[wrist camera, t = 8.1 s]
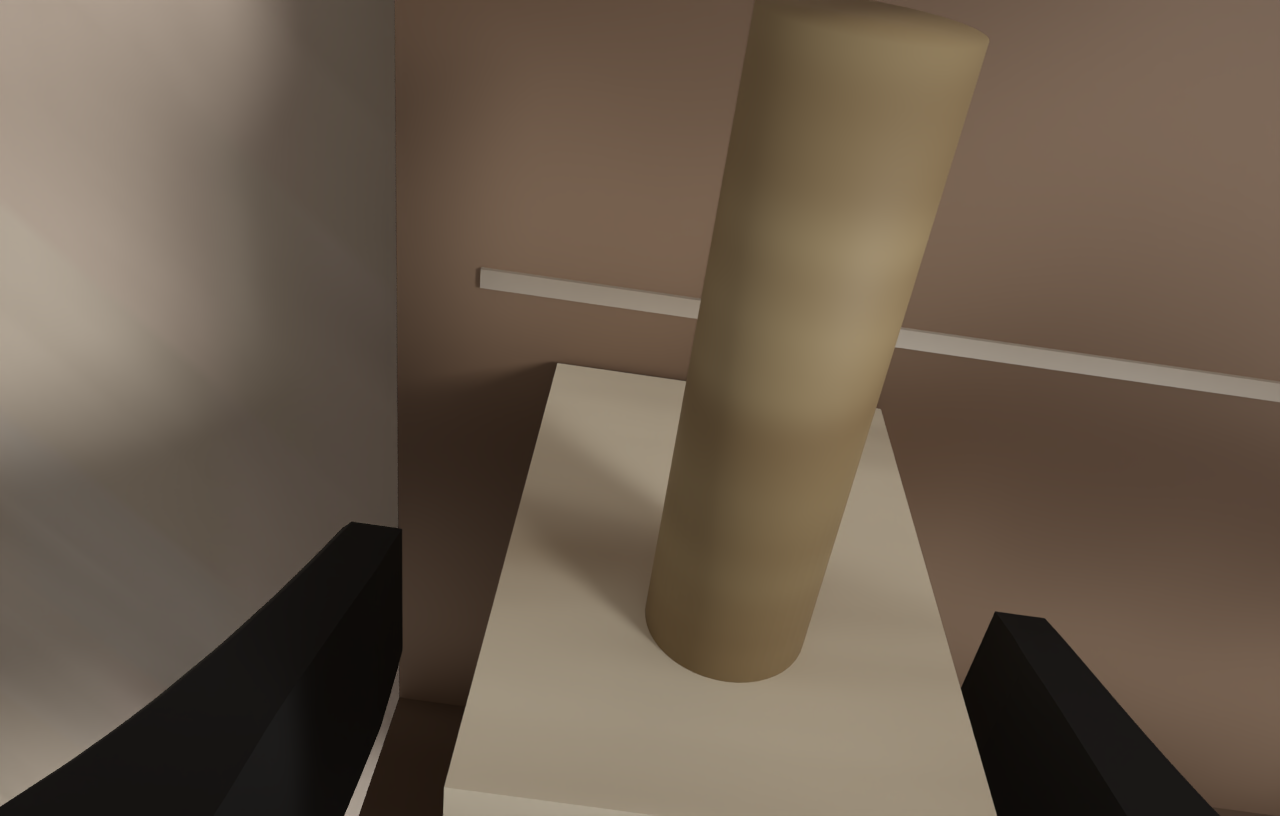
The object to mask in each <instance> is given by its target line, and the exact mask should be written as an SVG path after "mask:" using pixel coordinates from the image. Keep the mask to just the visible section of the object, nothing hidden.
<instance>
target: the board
mask: <svg viewBox="0 0 1280 816" xmlns="http://www.w3.org/2000/svg"><path fill="white" fill-rule="evenodd" d="M872 1H877V2H883V3H888V4H893V5H898V6H902V7H907V8H911V9H915V10H920V11H924V12H927V13H931V14H935V15H938V16H942V17H945V18H948V19H951V20H954V21H957V22H960V23H963V24H965V25H968V26H970V27H972V28H975V29H977V30H979V31H980V32H982V33H984V34H985V35H986V36H987V37H988V38H989V44H988V48H987V51H986V54H985V57H984V61H983V64H982V67H981V70H980V73H979V77H978V80H977V83H976V86H975V90H974V93H973V96H972V99H971V103H970V106H969V109H968V112H967V116H966V119H965V122H964V125H963V129H962V132H961V135H960V138H959V141H958V145H957V148H956V151H955V154H954V158H953V161H952V164H951V167H950V171H949V174H948V177H947V180H946V184H945V187H944V190H943V193H942V196H941V200H940V203H939V206H938V209H937V213H936V216H935V219H934V222H933V226H932V229H931V232H930V235H929V239H928V242H927V245H926V248H925V252H924V255H923V258H922V261H921V264H920V268H919V271H918V274H917V277H916V281H915V284H914V287H913V290H912V294H911V297H910V300H909V303H908V307H907V310H906V313H905V316H904V320H903V323H902V326H901V329H900V332H899V336H898V339H897V342H896V345H895V349H894V352H893V355H892V358H891V362H890V365H889V368H888V371H887V375H886V378H885V381H884V384H883V387H882V391H881V394H880V397H879V400H878V404H877V407H876V408H878V409H881V412H882V415H883V419H884V422H885V426H886V429H887V433H888V436H889V440H890V443H891V447H892V450H893V454H894V457H895V461H896V464H897V468H898V471H899V475H900V478H901V482H902V485H903V489H904V492H905V496H906V499H907V503H908V506H909V510H910V513H911V517H912V520H913V524H914V527H915V531H916V534H917V538H918V541H919V545H920V548H921V552H922V555H923V559H924V562H925V566H926V569H927V573H928V576H929V580H930V583H931V587H932V590H933V594H934V597H935V601H936V604H937V608H938V611H939V615H940V618H941V622H942V625H943V629H944V632H945V636H946V639H947V643H948V646H949V650H950V653H951V657H952V660H953V664H954V667H955V671H956V674H957V678H958V681H959V685H960V688H961V687H962V684H963V682H964V680H965V678H966V675H967V673H968V671H969V669H970V666H971V664H972V662H973V660H974V657H975V655H976V653H977V651H978V648H979V646H980V644H981V642H982V639H983V637H984V635H985V633H986V630H987V628H988V626H989V624H990V622H991V619H992V617H993V615H994V613H995V611H997V612H1004V613H1011V614H1018V615H1026V616H1033V617H1040V618H1045V619H1046V620H1047V621H1048V622H1049V623H1050V624H1051V625H1052V627H1053V628H1054V629H1055V630H1056V631H1057V632H1058V633H1059V634H1060V635H1061V637H1062V638H1063V639H1064V640H1065V641H1066V642H1067V643H1068V645H1069V646H1070V647H1071V648H1072V649H1073V650H1074V652H1075V653H1076V654H1077V655H1078V656H1079V657H1080V659H1081V660H1082V661H1083V662H1084V663H1085V664H1086V666H1087V667H1088V668H1089V669H1090V670H1091V671H1092V673H1093V674H1094V675H1095V676H1096V677H1097V679H1098V680H1099V681H1100V682H1101V683H1102V684H1103V686H1104V687H1105V688H1106V689H1107V690H1108V691H1109V693H1110V694H1111V695H1112V696H1113V697H1114V698H1115V700H1116V701H1117V702H1118V703H1119V704H1120V705H1121V707H1122V708H1123V709H1124V710H1125V711H1126V712H1127V714H1128V715H1129V716H1130V717H1131V718H1132V719H1133V720H1134V722H1135V723H1136V724H1137V725H1138V726H1139V727H1140V729H1141V730H1142V731H1143V732H1144V733H1145V734H1146V735H1147V737H1148V738H1149V739H1150V740H1151V741H1152V742H1153V743H1154V744H1155V746H1156V747H1157V748H1158V749H1159V750H1160V751H1161V752H1162V753H1163V755H1164V756H1165V757H1166V758H1167V759H1168V760H1169V761H1170V762H1171V764H1172V765H1173V766H1174V767H1175V768H1176V769H1177V770H1178V771H1179V772H1180V773H1181V775H1182V776H1183V777H1184V778H1185V779H1186V780H1187V781H1188V782H1189V783H1190V784H1191V785H1192V786H1193V788H1194V789H1195V790H1196V791H1197V792H1198V793H1199V794H1200V795H1201V796H1202V797H1203V798H1204V799H1205V800H1206V802H1207V803H1208V804H1209V805H1210V806H1211V807H1212V808H1213V809H1214V810H1215V811H1216V812H1217V813H1218V814H1219V815H1220V816H1280V0H872ZM754 3H755V0H395V117H396V262H397V407H398V528H399V529H402V611H403V651H402V654H401V658H400V661H399V696H400V698H399V700H398V703H397V706H396V709H395V712H394V715H393V718H392V721H391V724H390V727H389V730H388V732H387V735H386V738H385V741H384V744H383V747H382V750H381V753H380V756H379V759H378V762H377V764H376V767H375V770H374V773H373V776H372V779H371V782H370V785H369V788H368V791H367V794H366V796H365V799H364V802H363V805H362V808H361V811H360V814H359V816H443V804H444V786H445V782H446V778H447V774H448V771H449V767H450V763H451V759H452V756H453V752H454V748H455V744H456V741H457V737H458V733H459V729H460V726H461V722H462V718H463V714H464V711H465V707H466V703H467V700H468V696H469V692H470V688H471V685H472V681H473V677H474V673H475V670H476V666H477V662H478V658H479V655H480V651H481V647H482V643H483V640H484V636H485V632H486V628H487V625H488V621H489V617H490V614H491V610H492V606H493V602H494V599H495V595H496V591H497V587H498V584H499V580H500V576H501V572H502V569H503V565H504V561H505V557H506V554H507V550H508V546H509V542H510V539H511V535H512V531H513V528H514V524H515V520H516V516H517V513H518V509H519V505H520V501H521V498H522V494H523V490H524V486H525V483H526V479H527V475H528V471H529V468H530V464H531V460H532V456H533V453H534V449H535V445H536V441H537V438H538V434H539V430H540V427H541V423H542V419H543V415H544V412H545V408H546V404H547V400H548V397H549V393H550V389H551V385H552V382H553V378H554V374H555V370H556V367H557V363H561V364H568V365H575V366H582V367H589V368H596V369H603V370H610V371H617V372H624V373H631V374H638V375H645V376H652V377H659V378H666V379H673V380H681V381H686V380H687V374H688V368H689V363H690V357H691V352H692V346H693V341H694V335H695V330H696V324H697V319H698V313H699V308H700V302H701V296H702V291H703V285H704V280H705V274H706V269H707V263H708V258H709V252H710V247H711V241H712V235H713V230H714V224H715V219H716V213H717V208H718V202H719V197H720V191H721V186H722V180H723V174H724V169H725V163H726V158H727V152H728V147H729V141H730V136H731V130H732V125H733V119H734V113H735V108H736V102H737V97H738V91H739V86H740V80H741V75H742V69H743V64H744V58H745V53H746V47H747V41H748V36H749V30H750V25H751V19H752V14H753V8H754Z"/></svg>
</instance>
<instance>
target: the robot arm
mask: <svg viewBox="0 0 1280 816" xmlns="http://www.w3.org/2000/svg"><path fill="white" fill-rule="evenodd" d="M402 651H403V611H402V529H399V528H392V527H385V526H378V525H371V524H363V523H356V522H351V523H349V524H348V525H346V526H345V527H343V528H342V529H341V530H340V531H339V532H338V533H337V534H336V535H335V536H334V537H333V538H332V539H331V540H330V541H329V542H328V543H327V544H326V545H325V546H324V548H323V549H322V550H321V551H320V552H319V553H318V554H317V555H316V556H315V557H314V558H313V559H312V560H311V561H310V562H309V563H308V564H307V565H306V566H305V567H304V568H303V569H302V570H301V571H300V572H299V573H297V574H296V575H295V576H294V577H293V578H292V579H291V580H290V581H289V582H288V583H287V584H286V585H285V586H284V587H283V588H282V589H281V590H280V591H279V592H278V593H277V594H276V595H275V596H274V597H273V598H272V599H270V600H269V601H268V602H267V603H266V604H265V605H264V606H263V607H262V608H261V609H259V610H258V611H257V612H256V613H255V614H254V615H253V616H252V617H251V618H250V619H248V620H247V621H246V622H245V623H244V624H243V625H242V626H241V627H240V628H239V629H237V630H236V631H235V632H234V633H233V634H232V635H231V636H230V637H229V638H228V639H226V640H225V641H224V642H223V643H222V644H221V645H220V646H218V647H217V648H216V649H215V650H214V651H213V652H211V653H210V654H209V655H208V656H207V657H205V658H204V659H203V660H202V661H201V662H199V663H198V664H197V665H196V666H194V667H193V668H192V669H191V670H190V671H188V672H187V673H186V674H185V675H184V676H182V677H181V678H180V679H179V680H177V681H176V682H175V683H174V684H173V685H171V686H170V687H169V688H168V689H167V690H165V691H164V692H163V693H162V694H160V695H159V696H158V697H157V698H155V699H154V700H153V701H152V702H150V703H149V704H148V705H146V706H145V707H144V708H142V709H141V710H140V711H139V712H137V713H136V714H135V715H133V716H132V717H131V718H129V719H128V720H127V721H125V722H124V723H123V724H121V725H120V726H119V727H117V728H116V729H114V730H113V731H112V732H110V733H109V734H108V735H106V736H105V737H103V738H102V739H101V740H99V741H98V742H96V743H95V744H94V745H92V746H91V747H89V748H88V749H86V750H85V751H84V752H82V753H81V754H79V755H78V756H77V757H75V758H74V759H72V760H71V761H69V762H68V763H66V764H65V765H63V766H62V767H60V768H59V769H57V770H56V771H54V772H53V773H51V774H50V775H48V776H47V777H45V778H44V779H42V780H40V781H39V782H37V783H36V784H34V785H33V786H31V787H30V788H28V789H27V790H25V791H24V792H22V793H21V794H19V795H17V796H16V797H14V798H13V799H11V800H10V801H8V802H7V803H5V804H4V805H2V806H1V807H0V816H344V815H345V812H346V810H347V808H348V805H349V803H350V800H351V798H352V796H353V793H354V791H355V788H356V786H357V784H358V781H359V779H360V776H361V774H362V772H363V769H364V767H365V764H366V762H367V759H368V757H369V755H370V752H371V750H372V747H373V745H374V742H375V740H376V737H377V735H378V732H379V730H380V727H381V724H382V721H383V717H384V714H385V710H386V707H387V704H388V700H389V697H390V694H391V690H392V686H393V683H394V679H395V676H396V672H397V669H398V665H399V661H400V658H401V654H402ZM961 692H962V695H963V699H964V702H965V706H966V709H967V713H968V716H969V720H970V723H971V727H972V730H973V734H974V737H975V741H976V744H977V748H978V751H979V755H980V758H981V762H982V765H983V769H984V772H985V776H986V779H987V783H988V786H989V790H990V793H991V797H992V800H993V804H994V807H995V811H996V814H997V816H1220V815H1219V814H1218V813H1217V812H1216V811H1215V810H1214V809H1213V808H1212V807H1211V806H1210V805H1209V804H1208V803H1207V802H1206V800H1205V799H1204V798H1203V797H1202V796H1201V795H1200V794H1199V793H1198V792H1197V791H1196V790H1195V789H1194V788H1193V786H1192V785H1191V784H1190V783H1189V782H1188V781H1187V780H1186V779H1185V778H1184V777H1183V776H1182V775H1181V773H1180V772H1179V771H1178V770H1177V769H1176V768H1175V767H1174V766H1173V765H1172V764H1171V762H1170V761H1169V760H1168V759H1167V758H1166V757H1165V756H1164V755H1163V753H1162V752H1161V751H1160V750H1159V749H1158V748H1157V747H1156V746H1155V744H1154V743H1153V742H1152V741H1151V740H1150V739H1149V738H1148V737H1147V735H1146V734H1145V733H1144V732H1143V731H1142V730H1141V729H1140V727H1139V726H1138V725H1137V724H1136V723H1135V722H1134V720H1133V719H1132V718H1131V717H1130V716H1129V715H1128V714H1127V712H1126V711H1125V710H1124V709H1123V708H1122V707H1121V705H1120V704H1119V703H1118V702H1117V701H1116V700H1115V698H1114V697H1113V696H1112V695H1111V694H1110V693H1109V691H1108V690H1107V689H1106V688H1105V687H1104V686H1103V684H1102V683H1101V682H1100V681H1099V680H1098V679H1097V677H1096V676H1095V675H1094V674H1093V673H1092V671H1091V670H1090V669H1089V668H1088V667H1087V666H1086V664H1085V663H1084V662H1083V661H1082V660H1081V659H1080V657H1079V656H1078V655H1077V654H1076V653H1075V652H1074V650H1073V649H1072V648H1071V647H1070V646H1069V645H1068V643H1067V642H1066V641H1065V640H1064V639H1063V638H1062V637H1061V635H1060V634H1059V633H1058V632H1057V631H1056V630H1055V629H1054V628H1053V627H1052V625H1051V624H1050V623H1049V622H1048V621H1047V620H1046V619H1045V618H1040V617H1033V616H1026V615H1018V614H1011V613H1004V612H997V611H995V613H994V615H993V617H992V619H991V622H990V624H989V626H988V628H987V630H986V633H985V635H984V637H983V639H982V642H981V644H980V646H979V648H978V651H977V653H976V655H975V657H974V660H973V662H972V664H971V666H970V669H969V671H968V673H967V675H966V678H965V680H964V682H963V684H962V687H961Z"/></svg>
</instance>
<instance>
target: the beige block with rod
mask: <svg viewBox="0 0 1280 816" xmlns="http://www.w3.org/2000/svg"><path fill="white" fill-rule="evenodd" d="M988 44H989V38H988V37H987V36H986V35H985V34H984V33H982V32H980V31H979V30H977V29H975V28H972V27H970V26H968V25H965V24H963V23H960V22H957V21H954V20H951V19H948V18H945V17H942V16H938V15H935V14H931V13H927V12H924V11H920V10H915V9H911V8H907V7H902V6H898V5H893V4H888V3H883V2H877V1H872V0H755V3H754V8H753V14H752V19H751V25H750V30H749V36H748V41H747V47H746V53H745V58H744V64H743V69H742V75H741V80H740V86H739V91H738V97H737V102H736V108H735V113H734V119H733V125H732V130H731V136H730V141H729V147H728V152H727V158H726V163H725V169H724V174H723V180H722V186H721V191H720V197H719V202H718V208H717V213H716V219H715V224H714V230H713V235H712V241H711V247H710V252H709V258H708V263H707V269H706V274H705V280H704V285H703V291H702V296H701V302H700V308H699V313H698V319H697V324H696V330H695V335H694V341H693V346H692V352H691V357H690V363H689V368H688V374H687V380H686V381H681V380H673V379H666V378H659V377H652V376H645V375H638V374H631V373H624V372H617V371H610V370H603V369H596V368H589V367H582V366H575V365H568V364H561V363H557V367H556V370H555V374H554V378H553V382H552V385H551V389H550V393H549V397H548V400H547V404H546V408H545V412H544V415H543V419H542V423H541V427H540V430H539V434H538V438H537V441H536V445H535V449H534V453H533V456H532V460H531V464H530V468H529V471H528V475H527V479H526V483H525V486H524V490H523V494H522V498H521V501H520V505H519V509H518V513H517V516H516V520H515V524H514V528H513V531H512V535H511V539H510V542H509V546H508V550H507V554H506V557H505V561H504V565H503V569H502V572H501V576H500V580H499V584H498V587H497V591H496V595H495V599H494V602H493V606H492V610H491V614H490V617H489V621H488V625H487V628H486V632H485V636H484V640H483V643H482V647H481V651H480V655H479V658H478V662H477V666H476V670H475V673H474V677H473V681H472V685H471V688H470V692H469V696H468V700H467V703H466V707H465V711H464V714H463V718H462V722H461V726H460V729H459V733H458V737H457V741H456V744H455V748H454V752H453V756H452V759H451V763H450V767H449V771H448V774H447V778H446V782H445V786H444V804H443V816H997V814H996V811H995V807H994V804H993V800H992V797H991V793H990V790H989V786H988V783H987V779H986V776H985V772H984V769H983V765H982V762H981V758H980V755H979V751H978V748H977V744H976V741H975V737H974V734H973V730H972V727H971V723H970V720H969V716H968V713H967V709H966V706H965V702H964V699H963V695H962V692H961V688H960V685H959V681H958V678H957V674H956V671H955V667H954V664H953V660H952V657H951V653H950V650H949V646H948V643H947V639H946V636H945V632H944V629H943V625H942V622H941V618H940V615H939V611H938V608H937V604H936V601H935V597H934V594H933V590H932V587H931V583H930V580H929V576H928V573H927V569H926V566H925V562H924V559H923V555H922V552H921V548H920V545H919V541H918V538H917V534H916V531H915V527H914V524H913V520H912V517H911V513H910V510H909V506H908V503H907V499H906V496H905V492H904V489H903V485H902V482H901V478H900V475H899V471H898V468H897V464H896V461H895V457H894V454H893V450H892V447H891V443H890V440H889V436H888V433H887V429H886V426H885V422H884V419H883V415H882V412H881V409H878V408H876V407H877V404H878V400H879V397H880V394H881V391H882V387H883V384H884V381H885V378H886V375H887V371H888V368H889V365H890V362H891V358H892V355H893V352H894V349H895V345H896V342H897V339H898V336H899V332H900V329H901V326H902V323H903V320H904V316H905V313H906V310H907V307H908V303H909V300H910V297H911V294H912V290H913V287H914V284H915V281H916V277H917V274H918V271H919V268H920V264H921V261H922V258H923V255H924V252H925V248H926V245H927V242H928V239H929V235H930V232H931V229H932V226H933V222H934V219H935V216H936V213H937V209H938V206H939V203H940V200H941V196H942V193H943V190H944V187H945V184H946V180H947V177H948V174H949V171H950V167H951V164H952V161H953V158H954V154H955V151H956V148H957V145H958V141H959V138H960V135H961V132H962V129H963V125H964V122H965V119H966V116H967V112H968V109H969V106H970V103H971V99H972V96H973V93H974V90H975V86H976V83H977V80H978V77H979V73H980V70H981V67H982V64H983V61H984V57H985V54H986V51H987V48H988Z"/></svg>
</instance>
